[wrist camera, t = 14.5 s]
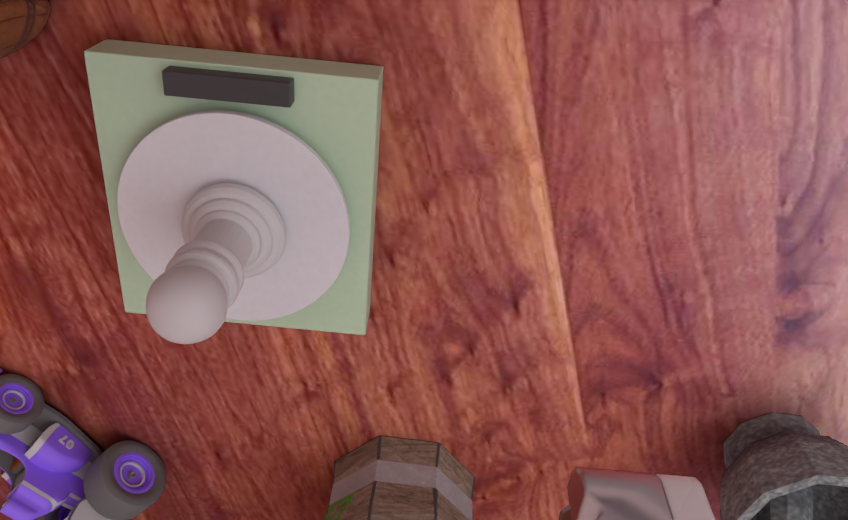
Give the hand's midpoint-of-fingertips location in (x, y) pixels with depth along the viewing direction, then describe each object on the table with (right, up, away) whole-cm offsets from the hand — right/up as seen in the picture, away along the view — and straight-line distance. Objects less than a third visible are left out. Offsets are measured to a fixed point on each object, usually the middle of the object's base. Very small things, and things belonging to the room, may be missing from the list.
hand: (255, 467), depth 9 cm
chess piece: (-7, +4, +27) cm, 29 cm away
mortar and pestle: (+25, -10, +38) cm, 47 cm away
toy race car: (-24, -10, +41) cm, 48 cm away
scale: (-7, +7, +30) cm, 31 cm away
